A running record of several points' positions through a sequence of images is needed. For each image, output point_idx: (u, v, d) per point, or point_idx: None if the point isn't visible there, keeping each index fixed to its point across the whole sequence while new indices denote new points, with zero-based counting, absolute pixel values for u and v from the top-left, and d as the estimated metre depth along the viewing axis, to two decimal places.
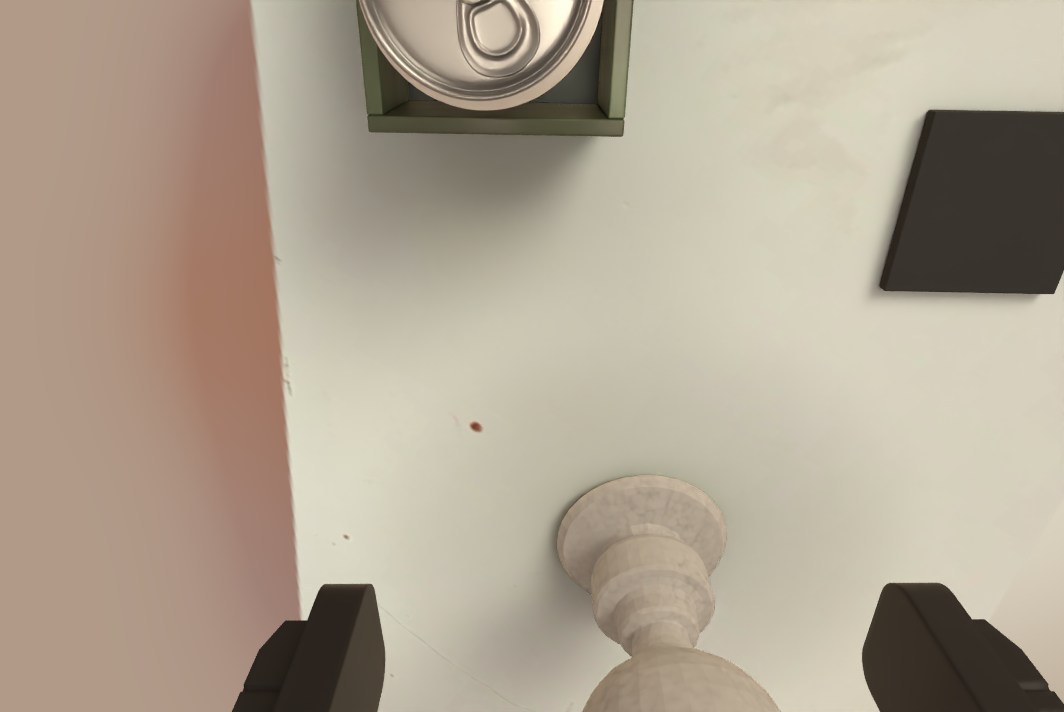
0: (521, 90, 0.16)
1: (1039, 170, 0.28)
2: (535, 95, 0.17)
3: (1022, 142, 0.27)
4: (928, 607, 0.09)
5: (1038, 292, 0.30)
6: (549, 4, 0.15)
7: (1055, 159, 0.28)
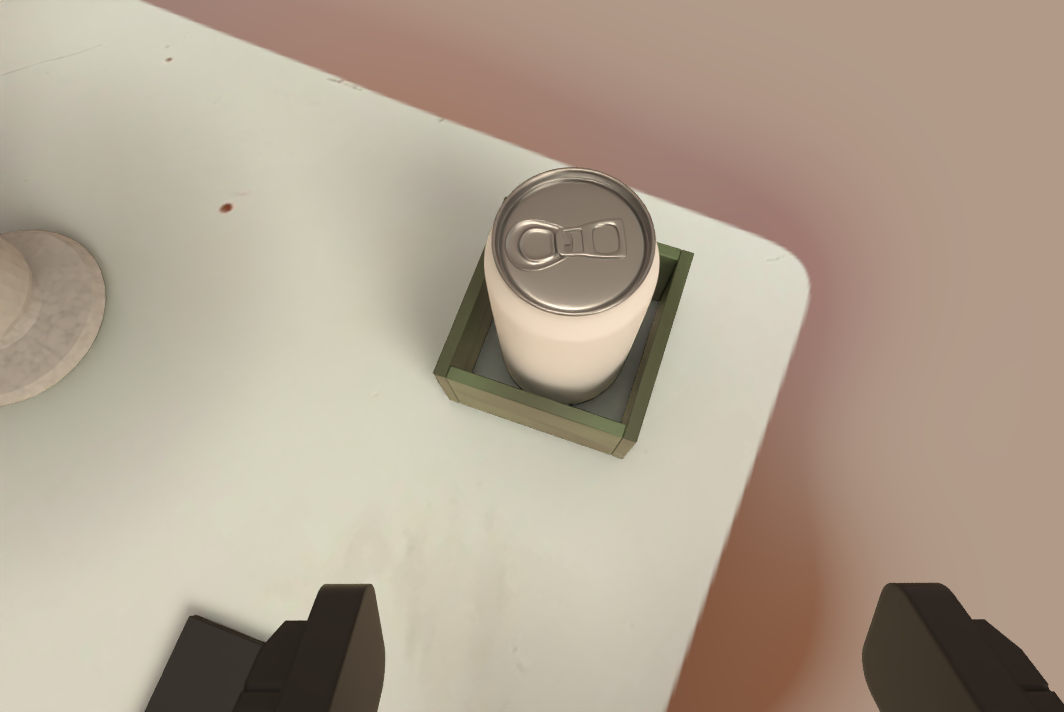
0: (492, 244, 0.22)
1: None
2: (486, 267, 0.23)
3: None
4: (928, 607, 0.09)
5: None
6: (539, 281, 0.22)
7: None
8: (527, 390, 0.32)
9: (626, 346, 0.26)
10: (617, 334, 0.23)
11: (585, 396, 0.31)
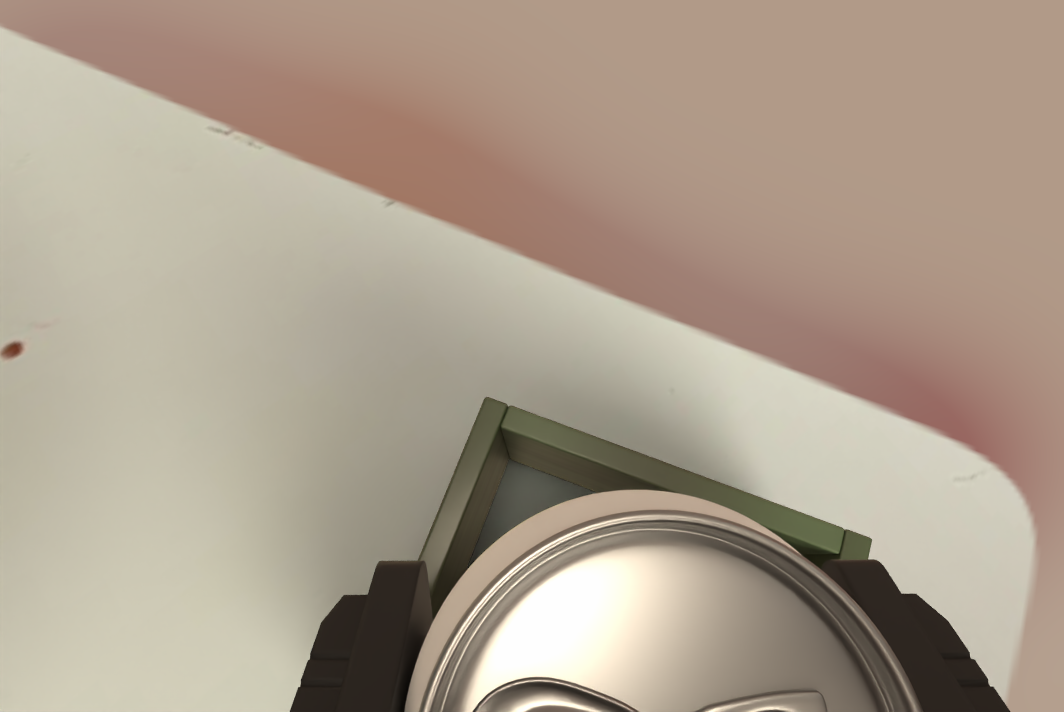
0: None
1: None
2: None
3: None
4: (860, 581, 0.09)
5: None
6: None
7: None
8: None
9: None
10: None
11: None
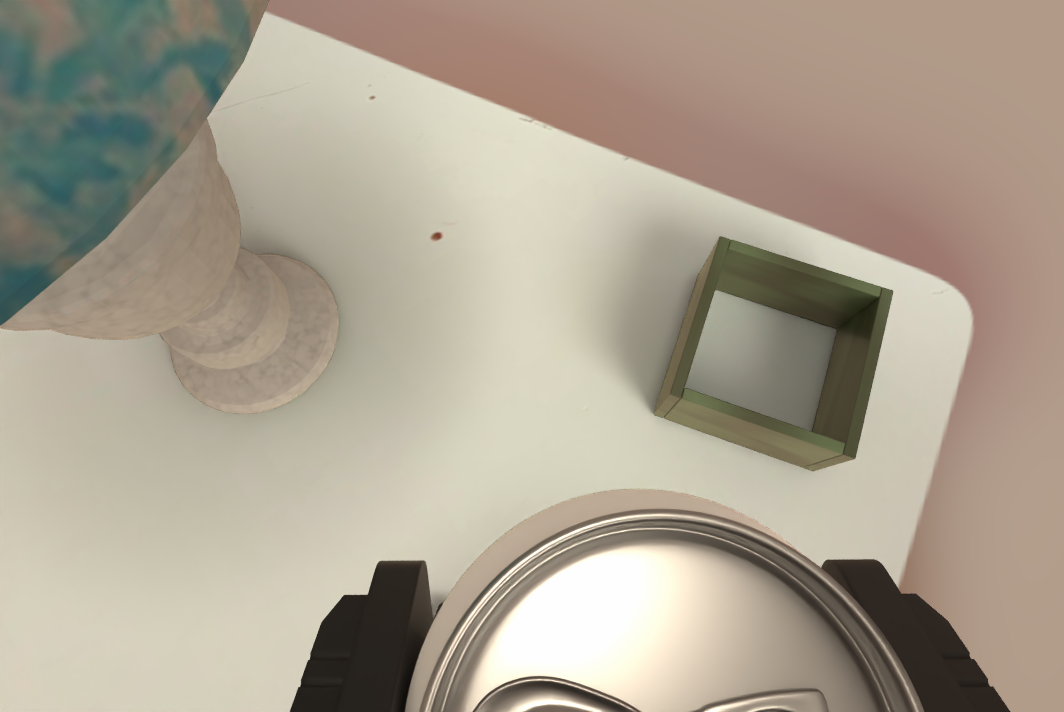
0: None
1: None
2: None
3: None
4: (860, 581, 0.09)
5: None
6: None
7: None
8: None
9: None
10: None
11: None
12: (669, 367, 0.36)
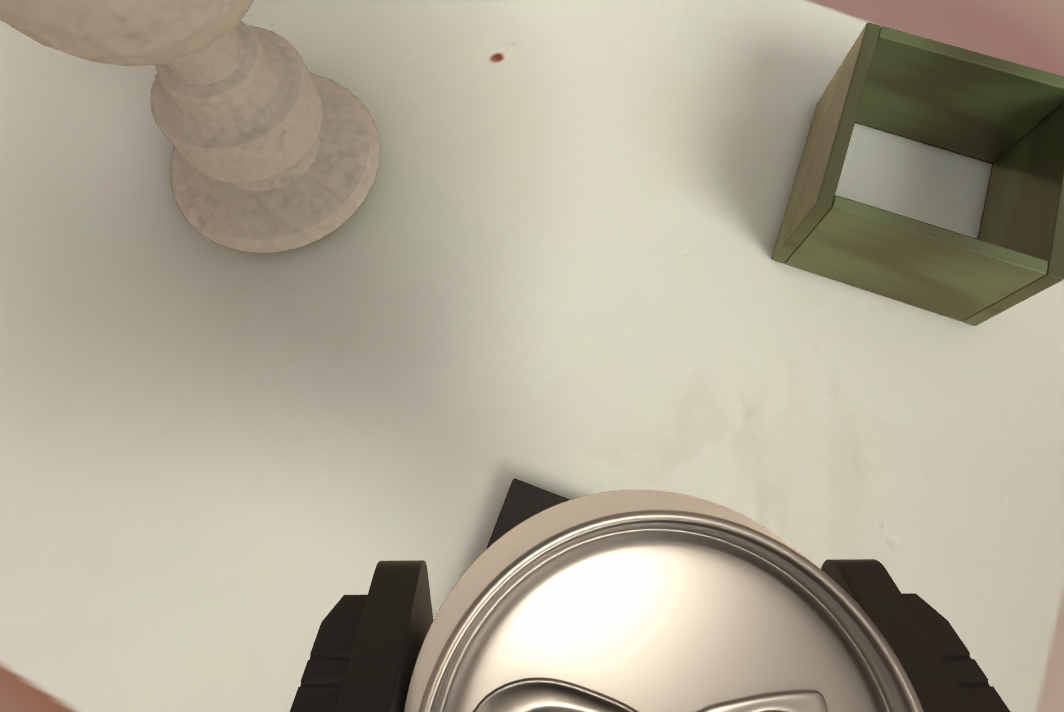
0: None
1: None
2: None
3: None
4: (860, 581, 0.09)
5: None
6: None
7: None
8: None
9: None
10: None
11: None
12: (791, 201, 0.29)
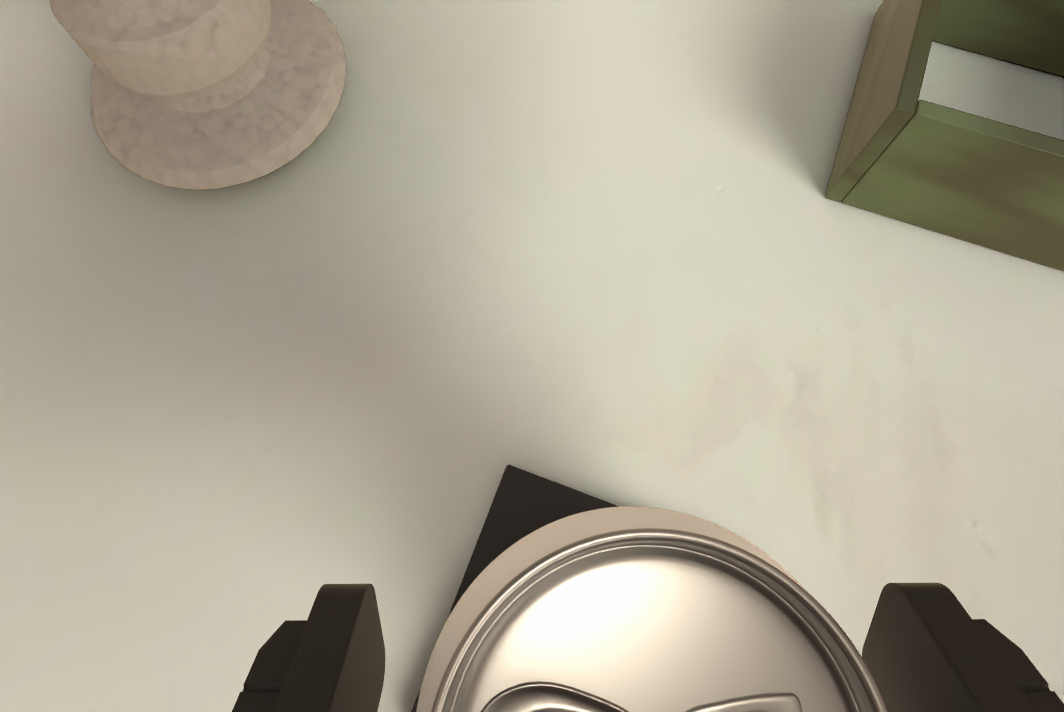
0: None
1: None
2: None
3: None
4: (928, 607, 0.09)
5: None
6: None
7: None
8: None
9: None
10: None
11: None
12: (848, 127, 0.24)
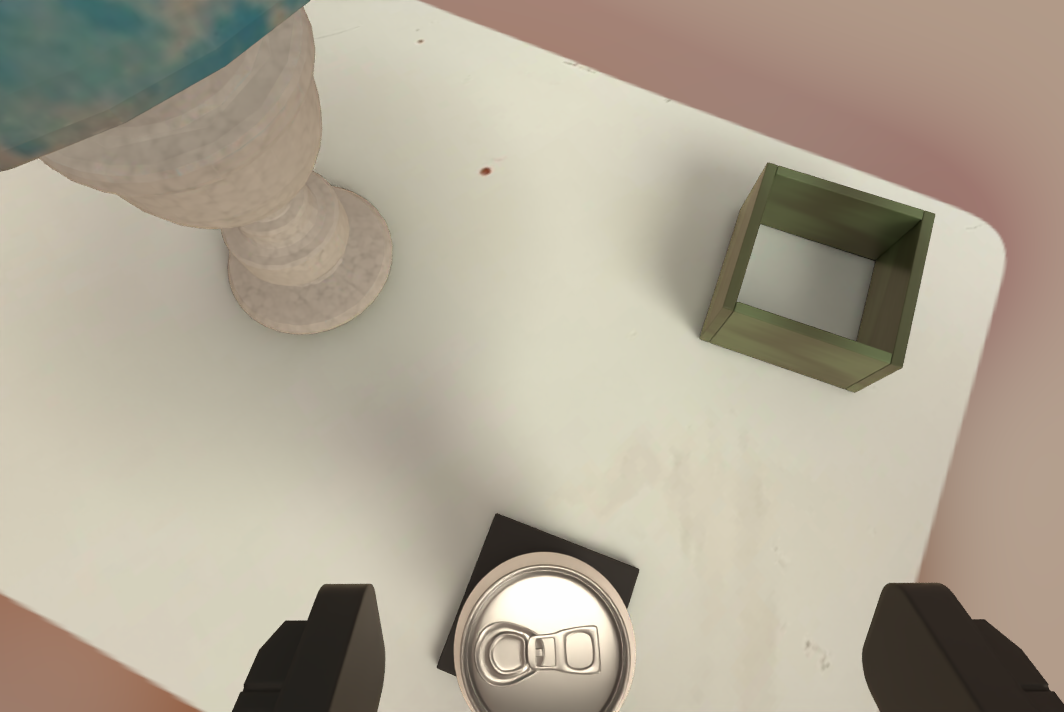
0: (460, 658, 0.21)
1: None
2: (455, 660, 0.22)
3: None
4: (928, 607, 0.09)
5: (443, 652, 0.32)
6: (508, 700, 0.21)
7: None
8: None
9: None
10: None
11: None
12: (714, 293, 0.38)
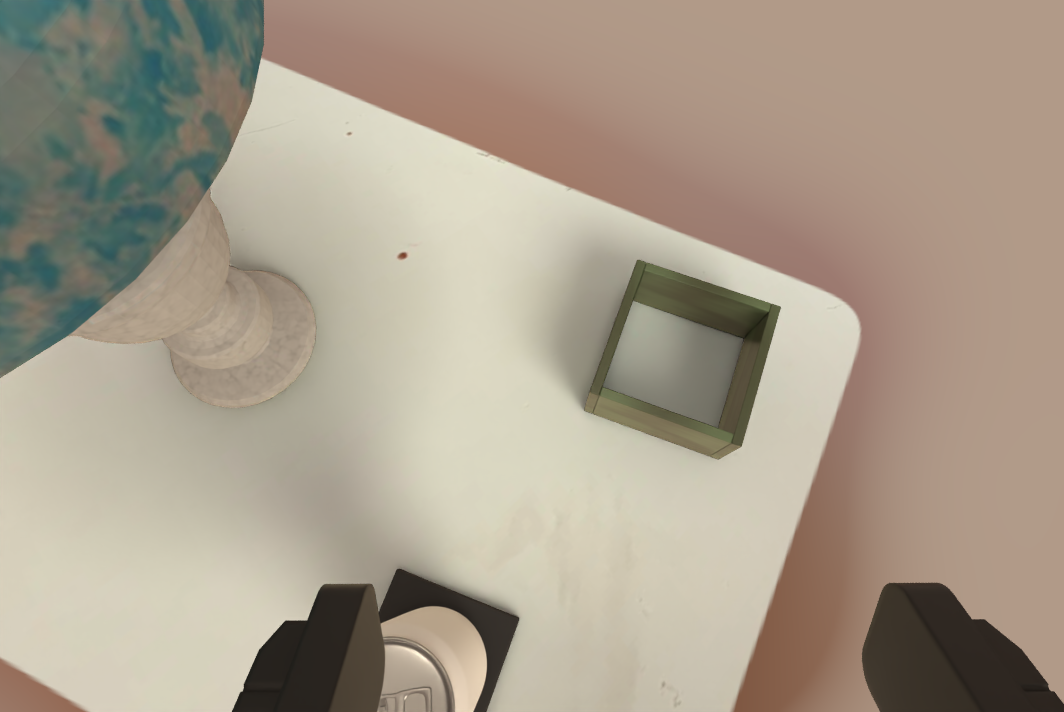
0: None
1: None
2: None
3: None
4: (928, 607, 0.09)
5: None
6: None
7: None
8: None
9: None
10: None
11: None
12: None
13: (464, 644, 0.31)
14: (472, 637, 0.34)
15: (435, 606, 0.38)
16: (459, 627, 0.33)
